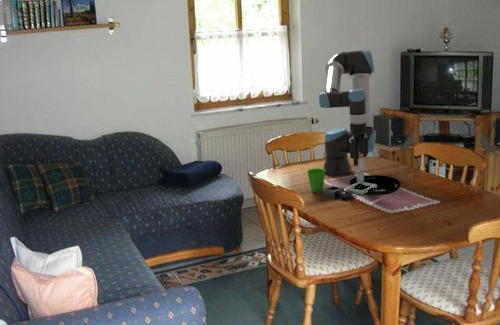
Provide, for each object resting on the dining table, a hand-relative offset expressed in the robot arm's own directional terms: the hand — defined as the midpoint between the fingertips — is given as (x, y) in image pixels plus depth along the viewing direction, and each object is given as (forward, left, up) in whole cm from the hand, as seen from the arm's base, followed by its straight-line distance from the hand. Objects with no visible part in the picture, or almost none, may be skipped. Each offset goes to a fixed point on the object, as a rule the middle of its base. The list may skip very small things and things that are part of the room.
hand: (360, 170), depth 283 cm
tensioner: (+13, -3, -10) cm, 17 cm away
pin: (0, 0, -6) cm, 6 cm away
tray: (0, 0, -10) cm, 10 cm away
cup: (+12, -17, -11) cm, 23 cm away
